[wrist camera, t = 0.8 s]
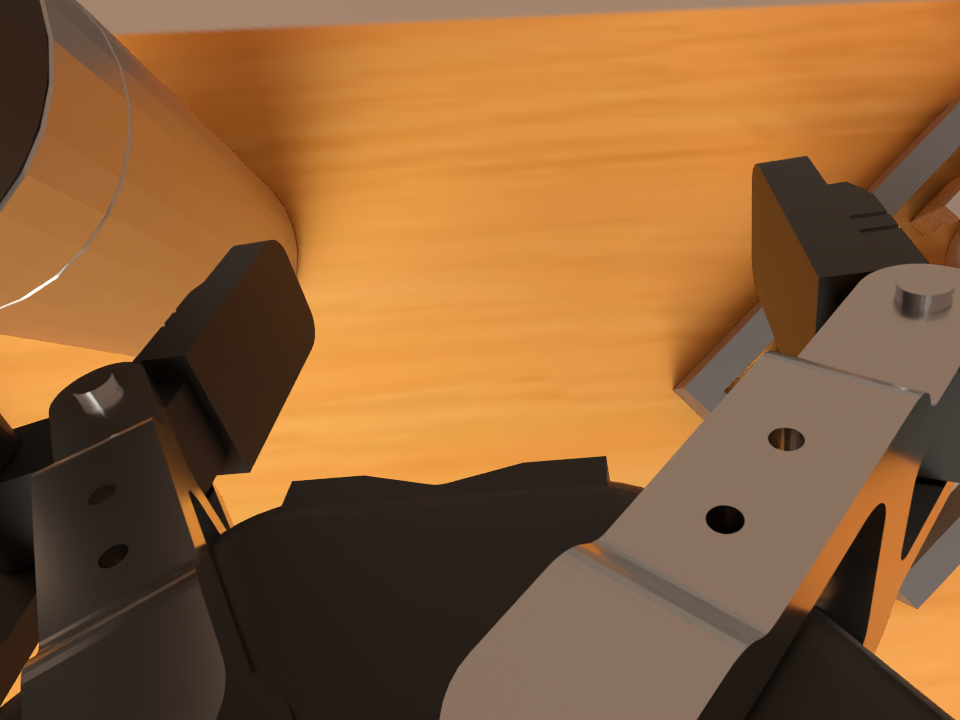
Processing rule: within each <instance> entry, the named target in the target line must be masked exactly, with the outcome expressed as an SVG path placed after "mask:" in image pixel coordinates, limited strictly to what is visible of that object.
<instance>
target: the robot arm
mask: <svg viewBox="0 0 960 720" xmlns="http://www.w3.org/2000/svg"><path fill="white" fill-rule="evenodd" d="M297 256H298V252H297V245H296V239H295V233H294V229H293V227H292V224H291V222H290V219H289V217H288V214H287V212H286V210H285V209H284V207H283V206H282V204H281V203H280V201H279V200H278V198H277V197H276V195H275V194H274V193H273V192H272V191H271V190H270V189H269V188H268V187H267V186H266V185H265V184H264V183H263V182H262V181H261V180H260V179H259V178H258V177H257V176H256V175H255V174H254V173H253V172H252V171H251V170H250V169H249V168H248V167H247V166H246V165H245V164H244V163H243V162H242V161H241V160H240V159H239V158H238V157H237V156H236V155H235V154H234V153H233V152H232V151H231V150H230V149H229V148H228V147H227V146H226V145H225V144H224V143H223V142H222V141H221V140H220V139H219V138H218V137H217V136H216V135H215V134H214V133H213V132H212V131H211V130H210V129H209V128H208V127H207V126H206V125H204V124H203V123H202V122H201V121H200V120H199V119H198V118H197V117H196V116H195V115H194V114H193V113H192V112H191V111H190V110H189V109H188V108H187V107H186V106H185V105H184V104H183V103H182V102H181V101H180V100H179V99H178V98H177V97H176V96H175V95H174V94H173V93H172V92H171V91H170V90H168V89H167V88H166V87H165V86H164V85H163V84H162V83H161V82H160V81H159V80H158V79H157V78H156V77H155V76H154V75H153V74H152V73H151V72H150V71H149V70H148V69H147V68H146V67H145V66H144V65H143V64H142V63H141V62H140V61H139V60H138V59H137V58H136V57H135V56H134V55H132V54H131V53H130V52H129V51H128V50H127V49H126V48H125V47H124V46H123V45H122V44H121V43H120V42H119V41H118V40H117V39H116V38H115V37H114V36H113V35H112V34H111V33H110V32H109V31H108V30H107V29H106V28H105V27H104V26H103V25H102V24H101V23H100V22H99V21H97V20H96V19H95V18H94V17H93V16H92V15H91V14H90V13H89V12H88V11H87V10H86V9H85V8H84V7H83V6H82V5H81V4H79V3H78V2H77V1H76V0H0V334H2V335H8V336H14V337H20V338H26V339H32V340H38V341H44V342H50V343H56V344H62V345H68V346H74V347H81V348H87V349H93V350H99V351H105V352H111V353H117V354H123V355H128V356H134V357H136V358H135V359H134V360H133V362H121V363H115V364H111V365H107V366H104V367H101V368H99V369H96V370H94V371H92V372H90V373H88V374H86V375H84V376H82V377H80V378H79V379H77V380H75V381H74V382H72V383H71V384H70V385H68V386H67V387H66V388H65V389H63V390H62V391H61V392H60V393H59V394H58V395H57V397H56V398H55V399H54V400H53V402H52V403H51V406H50V408H49V418H47V419H44V420H40V421H37V422H34V423H31V424H28V425H25V426H21V427H18V428H15V429H12V428H11V427H10V425H9V424H8V423H7V422H6V420H5V419H4V418H3V416H2V415H1V414H0V706H1V704H2V702H3V701H4V699H5V697H6V696H7V694H8V692H9V691H10V689H11V687H12V686H13V684H14V682H15V681H16V679H17V677H18V676H19V674H20V672H21V671H22V674H21V692H19V693H18V694H17V695H15V696H14V697H13V698H12V699H10V700H9V701H8V702H7V703H5V704H4V705H3V706H2V707H0V720H955V719H954V718H952V717H951V716H950V715H949V714H947V713H946V712H945V711H944V710H942V709H941V708H940V707H939V706H937V705H936V704H935V703H934V702H933V701H931V700H930V699H929V698H928V697H926V696H925V695H924V694H923V693H921V692H920V691H919V690H918V689H916V688H915V687H914V686H913V685H911V684H910V683H909V682H908V681H907V680H905V679H904V678H903V677H902V676H900V675H899V674H898V673H897V672H895V671H894V670H893V669H892V668H890V667H889V666H888V665H887V664H885V663H884V662H883V661H882V660H881V659H879V658H878V657H877V656H876V655H874V654H875V651H876V649H877V647H878V645H879V642H880V640H881V638H882V635H883V633H884V630H885V627H886V625H887V622H888V619H889V616H890V613H891V610H892V607H893V604H894V601H895V599H896V596H897V594H898V591H899V589H900V587H901V585H902V583H903V581H904V579H905V577H906V575H907V573H908V571H909V569H910V568H911V566H912V564H913V562H914V560H915V558H916V556H917V554H918V553H919V551H920V549H921V547H922V545H923V543H924V541H925V539H926V538H927V536H928V534H929V532H930V530H931V528H932V526H933V525H934V523H935V521H936V519H937V517H938V515H939V513H940V511H941V510H942V508H943V506H944V504H945V502H946V500H947V498H948V496H949V495H950V493H951V491H952V489H953V487H954V484H955V482H956V483H960V269H957V268H953V267H948V266H943V265H935V264H929V262H928V261H927V260H926V259H925V257H924V256H923V255H922V254H921V252H920V251H919V250H918V249H917V247H916V246H915V245H914V244H913V242H912V241H911V240H910V239H909V237H908V236H907V235H906V234H905V232H904V231H903V230H902V229H901V228H898V224H897V223H896V221H895V220H894V219H893V218H892V216H891V215H890V214H887V210H886V209H885V208H884V206H883V205H882V204H881V203H880V201H879V200H878V199H877V198H876V196H875V195H874V194H872V193H870V192H868V191H866V190H864V189H861V188H859V187H857V186H855V185H853V184H850V183H848V182H842V183H836V184H829V185H827V183H826V182H825V181H824V179H823V178H822V176H821V175H820V173H819V172H818V171H817V169H816V168H815V166H814V165H813V163H812V162H811V161H810V159H809V158H808V157H807V156H803V157H797V158H790V159H784V160H778V161H771V162H765V163H759V164H755V165H754V168H753V174H752V268H753V277H754V283H755V287H756V291H757V294H758V297H759V300H760V302H761V305H762V307H763V310H764V312H765V315H766V318H767V320H768V323H769V325H770V328H771V331H772V333H773V336H774V338H775V341H776V343H777V346H778V349H779V351H780V352H776V351H769V352H766V353H765V354H763V355H762V356H761V357H760V358H759V359H758V360H757V361H756V362H755V363H754V365H753V366H752V367H751V368H750V369H749V370H748V371H747V372H746V374H745V375H744V376H743V377H742V378H741V379H740V380H739V382H738V383H737V384H736V385H735V386H734V387H733V388H732V390H731V391H730V392H729V393H728V394H727V395H726V396H725V397H724V399H723V400H722V401H721V402H720V403H719V404H718V405H717V407H716V408H715V409H714V410H713V411H712V412H711V413H710V415H709V416H708V417H707V418H706V419H705V420H704V421H703V422H702V424H701V425H700V426H699V427H698V428H697V429H696V430H695V432H694V433H693V434H692V435H691V436H690V437H689V438H688V440H687V441H686V442H685V443H684V444H683V445H682V446H681V447H680V449H679V450H678V451H677V452H676V453H675V454H674V455H673V457H672V458H671V459H670V460H669V461H668V462H667V463H666V465H665V466H664V467H663V468H662V469H661V470H660V471H659V473H658V474H657V475H656V476H655V477H654V478H653V479H652V480H651V482H650V483H649V484H648V485H647V486H646V487H645V488H642V487H638V486H633V485H629V484H625V483H619V482H612V481H610V478H609V472H608V465H607V459H606V456H602V457H589V458H577V459H564V460H552V461H539V462H527V463H521V464H517V465H513V466H509V467H506V468H502V469H498V470H495V471H491V472H487V473H484V474H480V475H476V476H472V477H469V478H465V479H461V480H458V481H454V482H450V483H446V484H441V485H430V484H422V483H415V482H408V481H400V480H393V479H385V478H378V477H371V476H352V477H340V478H327V479H315V480H303V481H292V483H291V485H290V488H289V490H288V492H287V495H286V497H285V499H284V502H283V504H282V506H280V507H277V508H274V509H271V510H269V511H266V512H263V513H261V514H258V515H256V516H253V517H251V518H249V519H247V520H245V521H243V522H241V523H239V524H237V525H235V526H234V525H233V522H232V520H231V518H230V515H229V513H228V510H227V508H226V506H225V503H224V501H223V498H222V496H221V495H220V493H219V491H218V490H217V488H216V486H215V485H214V483H213V481H214V479H215V477H216V476H217V475H226V474H238V473H250V471H251V469H252V467H253V465H254V463H255V461H256V459H257V457H258V455H259V453H260V451H261V449H262V447H263V445H264V443H265V441H266V439H267V437H268V435H269V433H270V431H271V429H272V427H273V425H274V423H275V421H276V419H277V417H278V415H279V413H280V411H281V409H282V407H283V405H284V403H285V401H286V399H287V397H288V395H289V393H290V391H291V389H292V387H293V385H294V383H295V381H296V379H297V377H298V375H299V373H300V371H301V369H302V367H303V365H304V363H305V361H306V359H307V357H308V355H309V353H310V351H311V349H312V347H313V344H314V339H315V327H314V320H313V316H312V313H311V311H310V308H309V306H308V303H307V301H306V299H305V296H304V294H303V291H302V289H301V287H300V284H299V282H298V279H297V277H296V273H297ZM38 642H39V650H38V653H37V655H36V656H34V657H33V658H31V659H29V657H30V656H31V654H32V652H33V651H34V649H35V647H36V646H37V644H38ZM28 659H29V660H28Z"/></svg>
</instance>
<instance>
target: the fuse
mask: <svg viewBox="0 0 960 720" xmlns="http://www.w3.org/2000/svg"><path fill="white" fill-rule="evenodd" d="M946 266H948V267H953V268H957V269H960V229H959V230H958V232H957V233H956V234H955V235H954V237H953V238H952V240H951V242H950V244H949V247H948V250H947V256H946Z"/></svg>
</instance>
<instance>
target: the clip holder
mask: <svg viewBox="0 0 960 720" xmlns="http://www.w3.org/2000/svg"><path fill="white" fill-rule="evenodd" d="M959 146H960V96H959V97H957V98H956V99H955V100H953V101H952V102H950V104H949V105H948V106H947V107H946V108H945V109H944V110H943V111H942V112H941V113H940V114H939V115H938V116H937V117H936V118H935V119H934V120H933V121H932V122H931V123H930V124H929V125H928V126H927V127H926V128H925V129H924V130H923V131H922V132H921V134H920V135H919V136H918V137H917V138H916V139H915V140H914V141H913V142H912V143H911V144H910V145H909V146H908V147H907V148H906V149H905V150H904V151H903V152H902V153H901V154H900V155H899V156H898V157H897V158H896V159H895V160H894V161H893V163H892V164H891V165H890V166H889V167H888V168H887V169H886V170H885V171H884V172H883V173H882V174H881V175H880V176H879V177H878V178H877V179H876V180H875V181H874V182H873V183H872V184H871V185H870V186H869V187H868V188H867V189H866V191H868V192H870V193H872V194H874V195H875V196H876V198H877V199H878V200H879V201H880V203H881V204H882V205H883V206H884V208H885V209H886V210H887V214H890V215H891V216H893V215H894V214H895V213H896V212H897V211H898V210H899V209H900V208H901V207H902V206H903V205H904V203H905V202H906V201H907V200H908V199H909V198H910V197H911V196H912V195H913V194H914V193H915V192H916V191H917V190H918V189H919V188H920V187H921V186H922V185H923V184H924V183H925V182H926V181H927V180H928V179H929V178H930V176H931V175H932V174H933V173H934V172H935V171H936V170H937V169H938V168H939V167H940V166H941V165H942V164H943V163H944V162H945V161H946V160H947V159H948V158H949V157H950V156H951V155H952V154H953V153H954V152H955V151H956V149H957V148H958V147H959ZM958 220H960V177H959V178H957V179H955V180H953V181H951V182H949V183H948V184H947V185H946V186H945V187H944V188H943V189H942V190H941V191H940V192H939V193H938V194H937V195H936V196H935V197H934V198H933V199H932V200H931V201H930V202H929V203H928V204H927V205H926V206H925V207H924V208H923V209H922V211H921V212H920V213H919V214H918V215H917V216H916V217H915V218H914V219H913V220H912V221H911V222H910V224H911V225H912V226H914V227H915V228H916V229H917V230H918V231H919V232H920V233H921V234H923V235H926V234H929V233H931V232H933V231H935V230H938V229H940V228H942V227H945V226H947V225H949V224H951V223H954V222H956V221H958ZM774 339H775V338H774V336H773V333H772V331H771V328H770V325H769V323H768V320H767V318H766V315H765V312H764V310H763V307H762V305H761V302H760V300H759V301H758V302H757V303H756V304H755V305H754V306H753V307H752V308H751V310H750V311H749V312H748V313H747V314H746V315H745V316H744V317H743V318H742V319H741V320H740V321H739V322H738V323H737V324H736V325H735V326H734V327H733V328H732V329H731V330H730V331H729V332H728V333H727V334H726V335H725V336H724V337H723V339H722V340H721V341H720V342H719V343H718V344H717V345H716V346H715V347H714V348H713V349H712V350H711V351H710V352H709V353H708V354H707V355H706V356H705V357H704V358H703V359H702V360H701V361H700V362H699V363H698V364H697V365H696V366H695V368H694V369H693V370H692V371H691V372H690V373H689V374H688V375H687V376H686V377H685V378H684V379H683V380H682V381H681V382H680V383H679V384H678V385H677V386H676V387H675V388H674V389H673V391H674V392H675V393H676V394H677V395H678V396H680V397H681V398H682V399H683V400H684V401H685V402H686V403H687V404H688V405H689V406H690V407H691V408H692V409H693V410H694V411H695V412H696V413H697V414H698V415H700V416H701V417H702V418H703V419H704V420H705V419H706V418H707V417H708V416H709V415H710V413H711V412H712V411H713V410H714V409H715V408H716V407H717V405H718V404H719V403H720V402H721V401H722V400H723V399H724V397H725V396H726V395H727V394H726V393H725V392H724V390H725V389H726V388H727V387H728V386H729V385H730V384H731V383H732V382H733V381H734V380H735V379H736V378H737V377H738V376H739V375H740V374H741V373H742V372H743V371H744V370H745V369H746V368H747V367H748V366H749V365H750V363H751V362H752V361H753V360H754V359H755V358H756V357H757V356H758V355H759V354H760V353H761V352H762V351H763V350H764V349H765V348H766V347H767V346H768V345H769V344H770V343H771V342H772V341H773V340H774ZM959 564H960V483H956V482H955V484H954V487H953V489H952V491H951V493H950V495H949V496H948V498H947V500H946V502H945V504H944V506H943V508H942V510H941V511H940V513H939V515H938V517H937V519H936V521H935V523H934V525H933V526H932V528H931V530H930V532H929V534H928V536H927V538H926V539H925V541H924V543H923V545H922V547H921V549H920V551H919V553H918V554H917V556H916V558H915V560H914V562H913V564H912V566H911V568H910V569H909V571H908V573H907V575H906V577H905V579H904V581H903V583H902V585H901V587H900V589H899V591H898V594H897V596H896V599H897V600H899V601H901V602H903V603H905V604H907V605H910V606H912V607H914V608H916V609H918V608H919V607H920V606H921V605H922V604H923V603H924V602H925V601H926V600H927V599H928V598H929V596H930V595H931V594H932V593H933V592H934V591H935V590H936V589H937V588H938V587H939V586H940V585H941V584H942V583H943V582H944V580H945V579H946V578H947V577H948V576H949V575H950V574H951V573H952V572H953V571H954V570H955V569H956V568H957V567H958V566H959Z"/></svg>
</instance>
